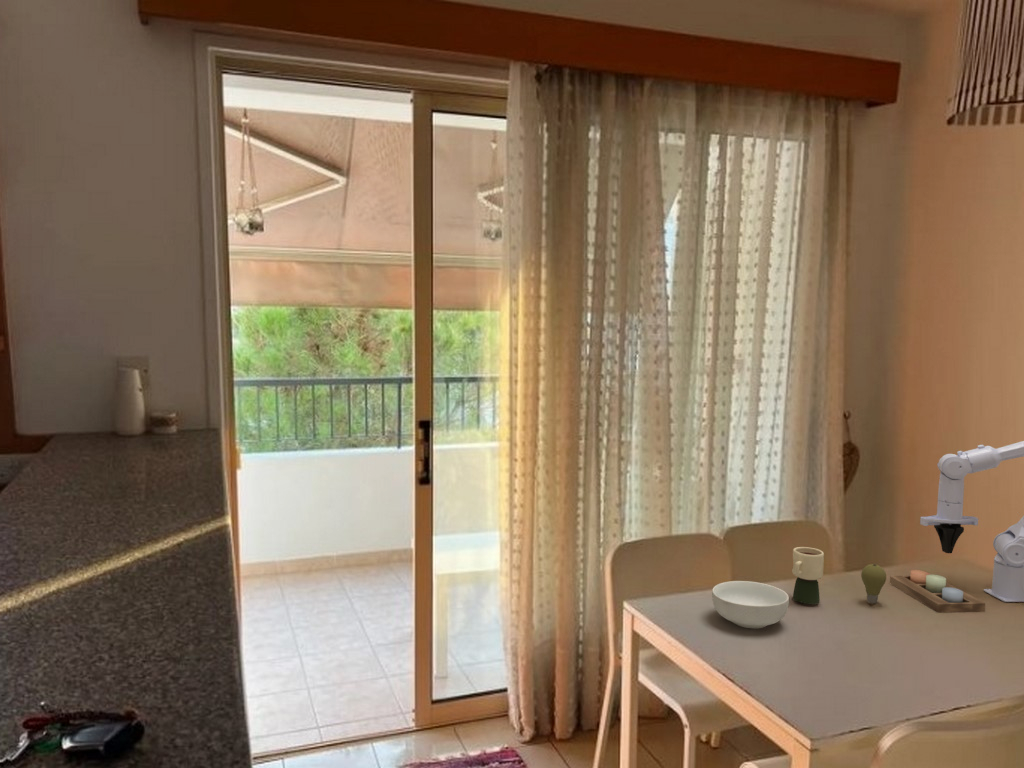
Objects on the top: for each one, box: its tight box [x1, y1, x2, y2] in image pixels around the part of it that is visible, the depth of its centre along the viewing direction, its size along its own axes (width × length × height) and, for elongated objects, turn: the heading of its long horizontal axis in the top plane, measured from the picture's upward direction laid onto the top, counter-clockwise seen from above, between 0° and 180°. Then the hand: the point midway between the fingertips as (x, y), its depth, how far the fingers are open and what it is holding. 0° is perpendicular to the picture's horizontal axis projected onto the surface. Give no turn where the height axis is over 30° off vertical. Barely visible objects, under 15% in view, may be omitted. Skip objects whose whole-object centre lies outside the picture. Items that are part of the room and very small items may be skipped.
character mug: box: [791, 546, 825, 605], centre depth 188 cm, size 11×7×13 cm, turn 129°
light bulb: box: [860, 563, 887, 606], centre depth 188 cm, size 6×6×10 cm
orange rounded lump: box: [909, 569, 931, 584], centre depth 200 cm, size 4×4×4 cm
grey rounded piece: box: [942, 587, 964, 603], centre depth 187 cm, size 4×4×4 cm
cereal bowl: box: [711, 580, 790, 629], centre depth 176 cm, size 17×17×7 cm
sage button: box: [926, 574, 947, 593], centre depth 193 cm, size 4×4×4 cm
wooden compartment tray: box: [889, 575, 986, 613], centre depth 193 cm, size 12×20×2 cm, turn 5°
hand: (947, 552), depth 198 cm, fingers closed
